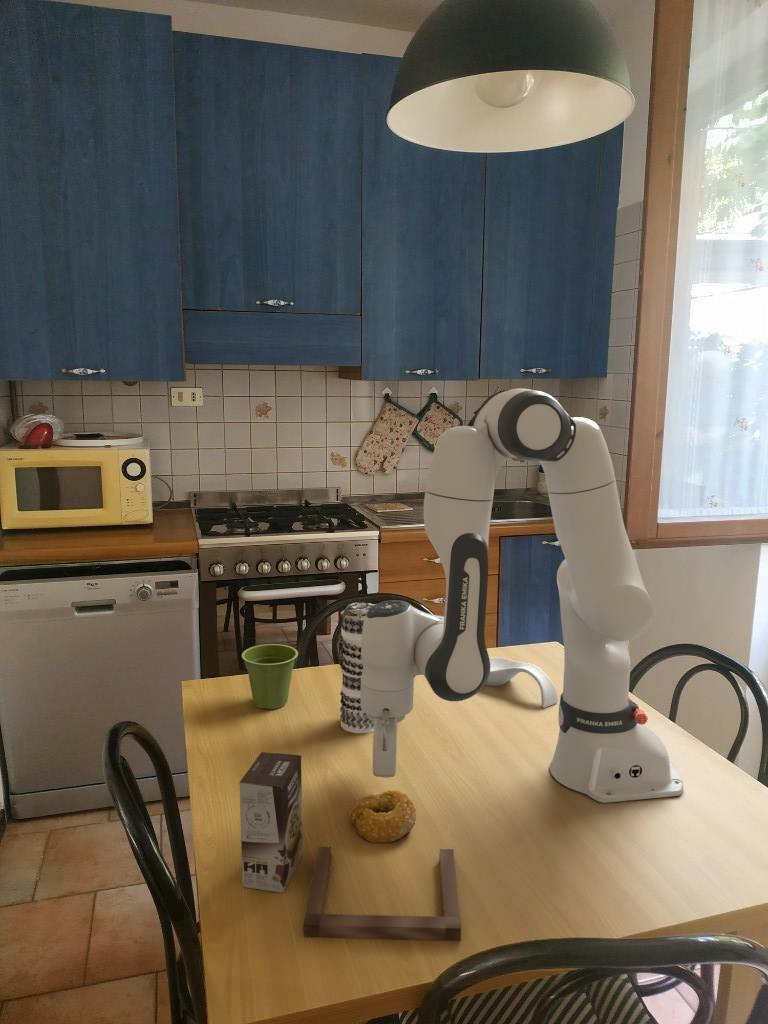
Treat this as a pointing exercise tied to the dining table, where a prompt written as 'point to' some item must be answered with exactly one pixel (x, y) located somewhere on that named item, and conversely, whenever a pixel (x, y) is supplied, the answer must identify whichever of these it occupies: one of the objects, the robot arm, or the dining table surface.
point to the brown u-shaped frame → (382, 924)
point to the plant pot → (270, 673)
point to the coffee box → (271, 821)
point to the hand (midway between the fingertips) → (385, 773)
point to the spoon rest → (509, 668)
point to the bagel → (384, 816)
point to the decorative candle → (353, 669)
